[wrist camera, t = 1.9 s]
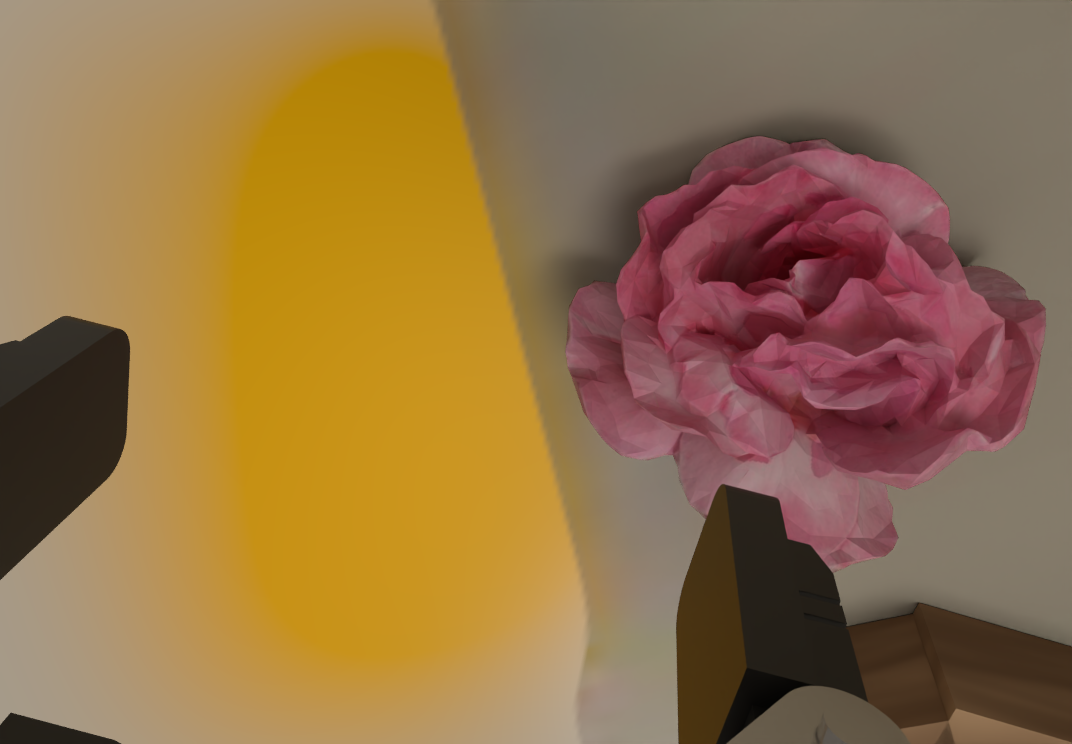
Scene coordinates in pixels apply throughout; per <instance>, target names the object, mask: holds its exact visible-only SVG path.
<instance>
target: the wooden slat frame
mask: <svg viewBox="0 0 1072 744" xmlns="http://www.w3.org/2000/svg"><path fill="white" fill-rule="evenodd" d="M846 629H848V630H849V634H850V637H851V641H852V644H853V648H854V652H855V655H856V659H857V663H858V666H859V670H860V674H861V677H862V681H863V685H864V688H865V692H866V695H867V699H868V703H870V704H871V705H873V706H874V707H876V708H877V709H879V710H880V711H881V712H883V713H884V714H885V715H886V716H888V717H889V718H890V719H891V720H892V721H893V722H894V723H895V724H896V725H897V726H898V727H899V728H900V729H901V731H902V732H903V733H904V734H905V736H906V737H907V739H908V740H909V742H910V743H911V744H1072V647H1070V646H1066V645H1063V644H1059V643H1056V642H1053V641H1049V640H1046V639H1042V638H1039V637H1035V636H1032V635H1028V634H1025V633H1021V632H1018V631H1015V630H1011V629H1008V628H1004V627H1001V626H997V625H994V624H990V623H987V622H983V621H980V620H977V619H973V618H970V617H966V616H963V615H959V614H956V613H952V612H949V611H946V610H942V609H939V608H935V607H932V606H928V605H925V604H921V603H919V604H918V605H917V607H916V609H915V611H914V613H913V614H910V615H905V616H900V617H895V618H890V619H885V620H880V621H875V622H870V623H865V624H860V625H855V626H850V627H846Z"/></svg>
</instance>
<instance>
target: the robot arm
mask: <svg viewBox="0 0 1072 744" xmlns="http://www.w3.org/2000/svg"><path fill="white" fill-rule="evenodd" d="M129 361H130V344H129V339H128V336H127V334H126V333H125V332H124V331H123V330H121V329H117V328H114V327H110V326H106V325H102V324H98V323H94V322H90V321H86V320H82V319H78V318H74V317H70V316H63V317H60V318H58V319H57V320H55V321H54V322H52V323H50V324H49V325H47V326H45V327H43V328H42V329H40V330H38V331H37V332H35V333H34V334H32V335H30V336H28V337H27V338H25V339H24V340H22V341H16V340H15V341H11V342H8V343H4V344H0V580H1V579H2V578H3V577H4V576H5V575H6V574H7V573H8V572H9V571H10V570H11V569H12V568H13V567H14V566H16V565H17V563H19V562H20V561H21V560H22V559H23V558H24V557H25V556H26V555H27V554H28V553H29V552H30V551H31V550H32V549H33V548H35V547H36V546H37V545H38V544H39V543H40V542H41V541H42V540H43V539H44V538H45V537H46V536H47V535H48V534H49V533H50V532H51V531H53V529H54V528H56V527H57V526H58V525H59V524H60V523H61V522H62V521H63V520H64V519H65V518H66V517H67V516H68V515H70V514H71V513H72V512H73V511H74V510H75V509H76V508H77V507H78V506H79V505H80V504H81V503H82V502H83V501H84V500H85V499H86V498H88V496H90V495H91V494H92V493H93V492H94V491H95V490H96V489H97V488H98V487H99V486H100V485H101V484H102V483H103V482H104V481H105V480H107V478H108V477H109V476H110V475H111V473H112V472H113V471H114V469H115V467H116V466H117V464H118V462H119V459H120V457H121V454H122V451H123V449H124V444H125V440H126V431H127V410H128V409H127V408H128V386H129V385H128V383H129ZM846 624H847V623H846V619H845V615H844V612H843V608H842V606H840V597H839V593H838V590H837V586H836V583H835V579H834V575H833V572H832V571H831V570H830V569H829V567H828V566H827V565H826V564H825V562H824V561H823V560H822V559H821V557H820V556H819V555H818V554H817V552H816V551H815V550H814V549H813V547H812V546H811V545H809V544H805V543H802V542H798V541H794V540H790V539H788V538H787V533H786V529H785V524H784V519H783V514H782V510H781V505H780V501H779V499H778V498H776V497H773V496H769V495H765V494H761V493H757V492H753V491H749V490H745V489H741V488H737V487H733V486H730V485H726V484H721V485H720V486H719V488H718V490H717V491H716V494H715V496H714V498H713V501H712V504H711V507H710V509H709V512H708V515H707V518H706V521H705V524H704V526H703V529H702V532H701V535H700V538H699V541H698V544H697V546H696V549H695V552H694V555H693V558H692V561H691V563H690V566H689V569H688V572H687V575H686V578H685V581H684V584H683V588H682V592H681V596H680V601H679V606H678V612H677V622H676V638H677V688H678V739H679V744H911V743H910V742H909V740H908V739H907V737H906V736H905V734H904V733H903V732H902V731H901V729H900V728H899V727H898V726H897V725H896V724H895V723H894V722H893V721H892V720H891V719H890V718H889V717H888V716H886V715H885V714H884V713H883V712H881V711H880V710H879V709H877V708H876V707H874V706H873V705H871V704H870V703H868V699H867V695H866V692H865V688H864V685H863V681H862V677H861V674H860V670H859V666H858V663H857V659H856V655H855V652H854V648H853V644H852V641H851V637H850V634H849V630H848V629H846ZM0 744H120V743H119V742H117V741H115V740H112V739H108V738H105V737H101V736H97V735H93V734H89V733H86V732H81V731H78V730H74V729H70V728H67V727H62V726H59V725H55V724H52V723H48V722H44V721H40V720H36V719H33V718H29V717H25V716H21V715H17V714H14V713H10V714H9V715H8V717H7V718H6V719H5V720H4V721H3V722H2V724H1V725H0Z"/></svg>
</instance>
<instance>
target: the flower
mask: <svg viewBox="0 0 1072 744" xmlns="http://www.w3.org/2000/svg"><path fill="white" fill-rule="evenodd" d="M637 214H638V221H639V229H640V237H641V243H640V244H639V246H638V248H637V249H636V251H635V252H634V254H633V255H632V257H631V258H630V259H629V260H628V262H627V263H626V264H625V265H624V267H623V268H622V269H621V271H620V274H619V277H618V280H617V283H616V284H615V283H608V282H601V281H594V282H593V283H592V284H591V285H588V286H585V287H582V288H579V289H578V291H577V293H576V295H575V297H574V298H573V300H572V302H571V304H570V306H569V315H568V332H567V343H566V351H565V352H566V357H567V364H568V369H569V371H570V373H571V376H572V379H573V382H574V385H575V388H576V391H577V394H578V396H579V399H580V402H581V405H582V408H583V411H584V413H585V415H586V416H587V418H588V419H589V421H590V422H591V424H592V425H593V427H594V428H595V429H596V431H597V432H598V433H599V435H600V436H601V438H602V439H603V440H604V441H605V442H606V443H607V444H608V445H609V446H610V447H611V448H613V449H614V450H615V451H616V452H618V453H619V454H620V455H622V456H625V457H630V458H635V459H639V460H650V459H654V458H657V457H660V456H664V455H673V457H674V459H675V461H676V464H677V466H678V473H679V481H680V483H681V485H682V487H683V490H684V492H685V494H686V497H687V499H688V501H689V503H690V505H691V506H692V507H693V508H695V509H696V510H697V511H698V512H699V513H700V514H701V515H702V516H703V517H704V518H705V519H706V518H707V515H708V512H709V509H710V507H711V504H712V501H713V498H714V496H715V494H716V491H717V490H718V488H719V486H720V485H721V484H726V485H730V486H733V487H737V488H741V489H745V490H749V491H753V492H757V493H761V494H765V495H769V496H773V497H776V498H778V499H779V501H780V505H781V510H782V514H783V519H784V524H785V529H786V533H787V538H788V539H790V540H794V541H798V542H802V543H805V544H809V545H811V546H812V547H813V549H814V550H815V551H816V552H817V554H818V555H819V556H820V557H821V559H822V560H823V561H824V562H825V564H826V565H827V566H828V567H829V569H830V570H831V571H832V572H833V573H834V572H836V571H839V570H841V569H843V568H845V567H847V566H849V565H851V564H854V563H859V562H863V561H867V560H871V559H875V558H879V557H883V556H886V555H887V554H888V553H889V552H890V551H891V550H892V549H893V548H894V546H895V544H896V542H897V539H898V535H897V533H896V530H895V528H894V525H893V523H892V514H893V507H892V505H891V503H890V501H889V500H888V494H887V488H886V485H885V484H888V485H891V486H895V487H898V488H901V489H904V490H906V489H909V488H911V487H913V486H916V485H918V484H920V483H923V482H925V481H928V480H930V479H931V478H932V477H934V476H935V475H936V474H938V473H939V472H940V471H941V470H943V469H944V468H945V467H946V466H948V465H949V464H950V463H952V462H953V461H954V460H955V459H957V458H958V457H959V456H960V455H962V454H963V453H964V452H966V451H990V452H992V451H997V450H999V449H1001V448H1003V447H1004V446H1006V445H1007V444H1008V443H1009V442H1010V441H1011V440H1012V439H1013V438H1014V437H1016V436H1017V435H1018V434H1019V433H1020V432H1021V431H1022V430H1023V429H1024V427H1025V423H1026V419H1027V415H1028V411H1029V407H1030V403H1031V400H1032V396H1033V392H1034V389H1035V385H1036V379H1037V373H1038V368H1039V362H1040V357H1041V354H1040V353H1041V350H1042V346H1043V343H1044V336H1045V327H1046V312H1045V307H1044V306H1043V305H1042V304H1041V303H1040V301H1037V300H1028V298H1027V297H1026V295H1025V289H1024V288H1023V287H1021V286H1020V285H1019V284H1018V283H1017V282H1016V281H1015V280H1014V279H1013V278H1011V277H1009V276H1008V275H1006V274H1004V273H1003V272H1000V271H998V270H995V269H991V268H987V267H980V266H970V267H962V266H961V264H960V262H959V260H958V258H957V256H956V254H955V253H954V251H953V250H952V248H951V247H950V246H949V245H948V241H949V231H950V217H949V208H948V207H947V205H946V204H945V202H944V201H943V200H942V198H941V197H940V195H939V194H938V193H937V192H936V191H935V190H934V189H933V188H932V187H931V186H930V185H929V184H928V183H927V182H926V181H924V180H923V179H921V178H920V177H918V176H917V175H915V174H914V173H912V172H911V171H909V170H908V169H907V168H905V167H902V166H900V165H897V164H892V163H887V162H881V161H875V160H872V159H870V158H869V157H868V156H865V155H863V154H860V153H857V154H854V155H851V154H849V153H847V152H845V151H843V150H841V149H840V148H838V147H837V146H835V145H834V144H832V143H831V142H829V141H828V140H826V139H819V140H810V141H803V142H795V143H791V144H788V143H786V142H783V141H781V140H777V139H772V138H767V137H762V136H756V137H750V138H745V139H742V140H739V141H736V142H733V143H730V144H728V145H725V146H723V147H721V148H718V149H716V150H714V151H712V152H710V153H708V154H706V155H705V157H704V158H703V159H702V160H701V161H700V162H699V163H698V164H697V166H696V167H695V168H694V169H693V170H692V173H691V176H690V180H689V183H688V185H683V186H681V187H680V188H678V189H677V190H676V191H673V192H671V193H669V194H667V195H659V196H655V197H653V198H652V199H651V200H649V201H648V202H646V203H645V204H644V205H643V206H642V207H641V208H640V209H639V210H638V211H637Z"/></svg>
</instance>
